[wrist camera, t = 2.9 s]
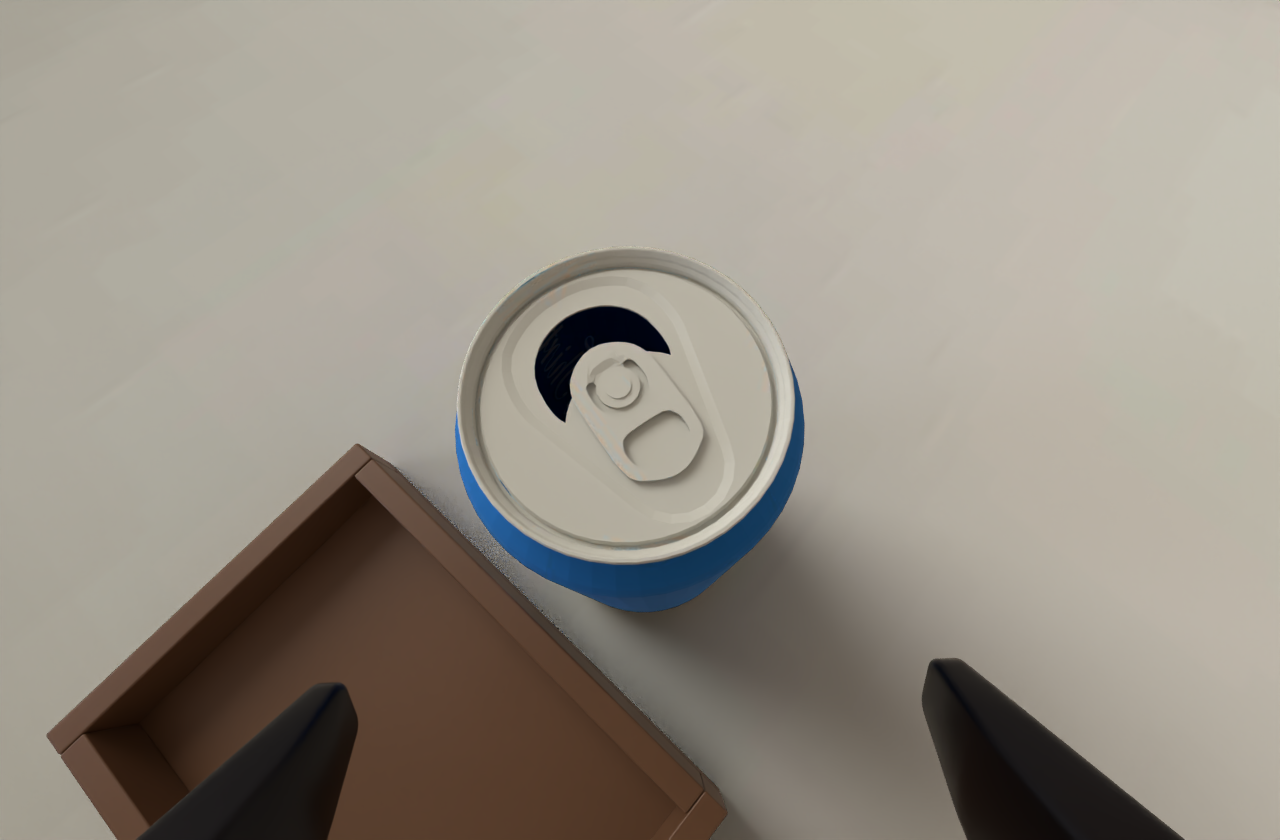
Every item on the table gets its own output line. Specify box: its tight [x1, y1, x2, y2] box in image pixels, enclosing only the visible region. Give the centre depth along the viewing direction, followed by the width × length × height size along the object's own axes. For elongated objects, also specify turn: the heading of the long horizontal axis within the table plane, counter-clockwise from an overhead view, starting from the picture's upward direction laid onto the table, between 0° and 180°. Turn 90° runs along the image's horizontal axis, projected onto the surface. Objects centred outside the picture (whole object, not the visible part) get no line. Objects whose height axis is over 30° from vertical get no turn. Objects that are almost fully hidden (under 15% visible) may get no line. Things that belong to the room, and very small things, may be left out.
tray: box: [47, 444, 728, 840], centre depth 18 cm, size 16×12×3 cm
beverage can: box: [455, 246, 804, 612], centre depth 16 cm, size 6×6×12 cm
